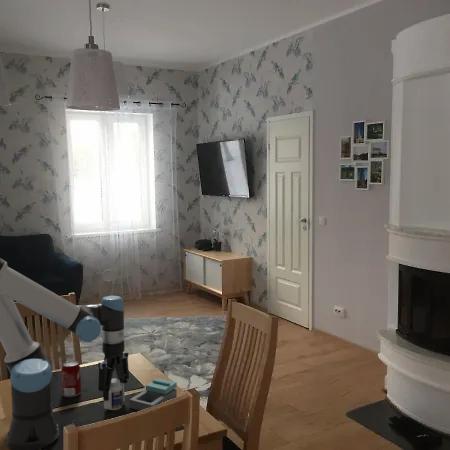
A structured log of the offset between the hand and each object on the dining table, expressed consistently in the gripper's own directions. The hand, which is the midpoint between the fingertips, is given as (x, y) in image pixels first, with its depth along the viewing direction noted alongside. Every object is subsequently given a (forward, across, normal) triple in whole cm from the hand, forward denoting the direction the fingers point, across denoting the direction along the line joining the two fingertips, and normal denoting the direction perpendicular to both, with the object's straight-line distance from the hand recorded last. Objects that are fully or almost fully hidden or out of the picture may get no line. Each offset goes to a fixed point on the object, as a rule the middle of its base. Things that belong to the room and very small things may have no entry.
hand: (114, 404), depth 180 cm
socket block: (+1, +10, -10) cm, 14 cm away
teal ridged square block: (-2, +14, -10) cm, 18 cm away
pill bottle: (+1, 0, 0) cm, 1 cm away
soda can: (+1, +1, +21) cm, 21 cm away
